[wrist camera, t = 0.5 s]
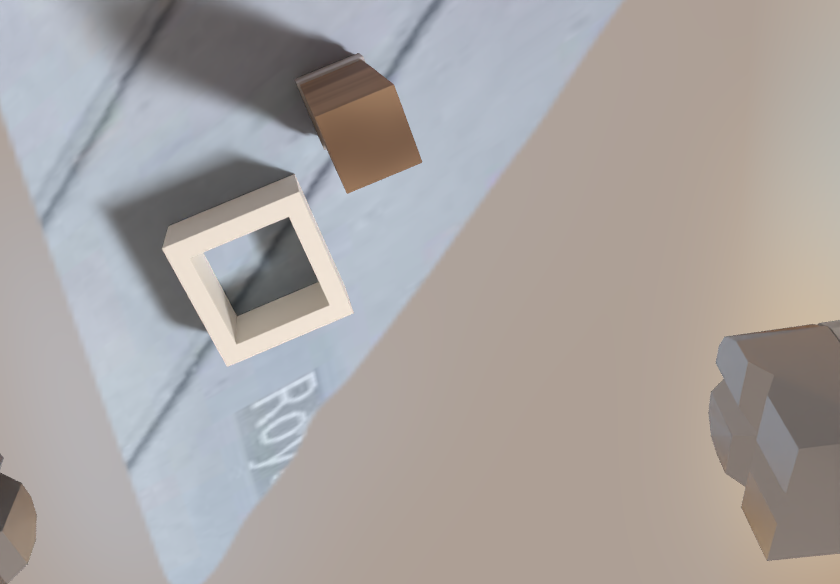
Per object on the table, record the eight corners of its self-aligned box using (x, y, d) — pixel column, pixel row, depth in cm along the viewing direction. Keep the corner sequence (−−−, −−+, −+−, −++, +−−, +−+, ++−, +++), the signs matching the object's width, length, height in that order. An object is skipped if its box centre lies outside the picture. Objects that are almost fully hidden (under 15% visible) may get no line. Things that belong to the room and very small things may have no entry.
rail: (293, 77, 49) (310, 115, 36) (356, 51, 49) (395, 80, 36) (320, 140, 50) (345, 197, 38) (380, 115, 51) (426, 164, 38)
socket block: (168, 226, 50) (161, 248, 46) (294, 173, 51) (299, 191, 47) (228, 337, 54) (227, 366, 50) (345, 287, 55) (353, 313, 51)
